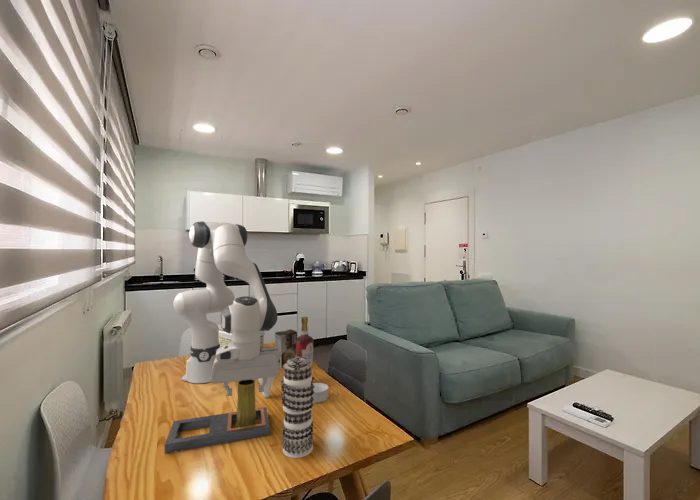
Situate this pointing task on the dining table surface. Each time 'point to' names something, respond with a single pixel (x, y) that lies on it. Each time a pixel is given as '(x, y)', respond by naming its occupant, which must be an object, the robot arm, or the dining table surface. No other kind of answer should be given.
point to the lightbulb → (267, 386)
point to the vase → (246, 403)
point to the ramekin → (320, 392)
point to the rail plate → (215, 431)
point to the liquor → (305, 343)
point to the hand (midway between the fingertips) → (245, 393)
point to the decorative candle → (297, 407)
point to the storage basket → (226, 337)
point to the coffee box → (285, 345)
